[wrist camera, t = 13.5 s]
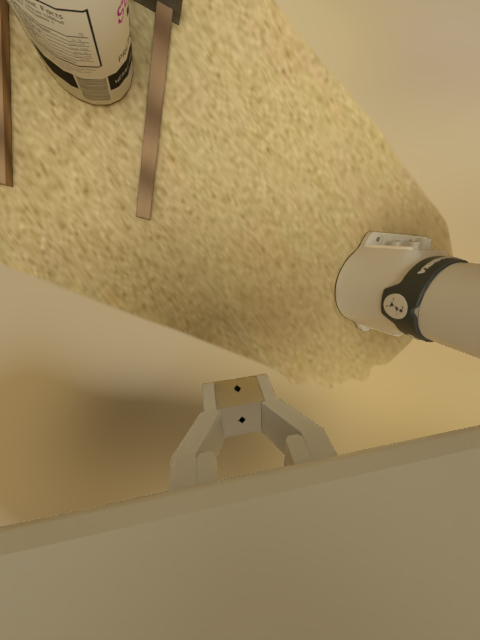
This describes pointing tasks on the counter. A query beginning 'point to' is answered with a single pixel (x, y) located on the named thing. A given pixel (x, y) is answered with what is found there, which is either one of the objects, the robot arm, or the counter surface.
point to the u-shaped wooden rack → (167, 9)
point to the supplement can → (82, 44)
